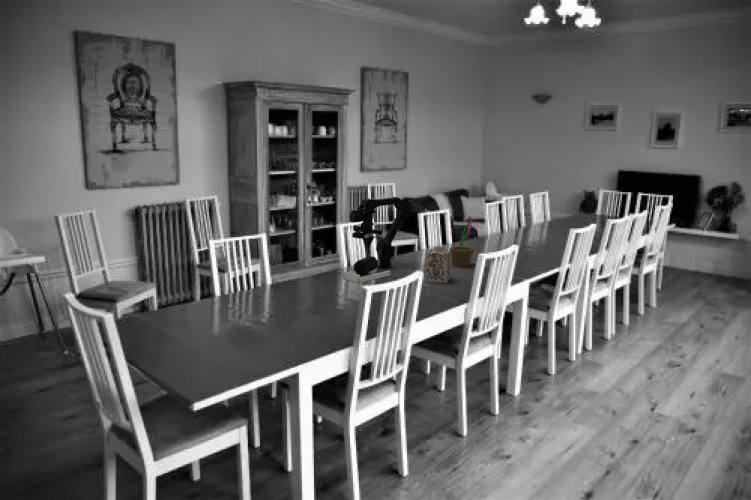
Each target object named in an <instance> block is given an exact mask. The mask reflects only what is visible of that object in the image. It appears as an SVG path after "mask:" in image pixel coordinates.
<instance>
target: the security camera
mask: <svg viewBox="0 0 751 500" xmlns="http://www.w3.org/2000/svg"><path fill="white" fill-rule="evenodd" d="M378 262H379V261H378V258H376V256H371V255H369V256H366V257H364V258H362V259H359V260H357V261H356V262H355V263H353V271H355V272H356V274H357V275H360V277H362V276H366V275H370V273H369V272H370V271H373V270H375V269H376V270H377V268H379V267H378V266H379V265H378V264H379V263H378Z"/></svg>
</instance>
